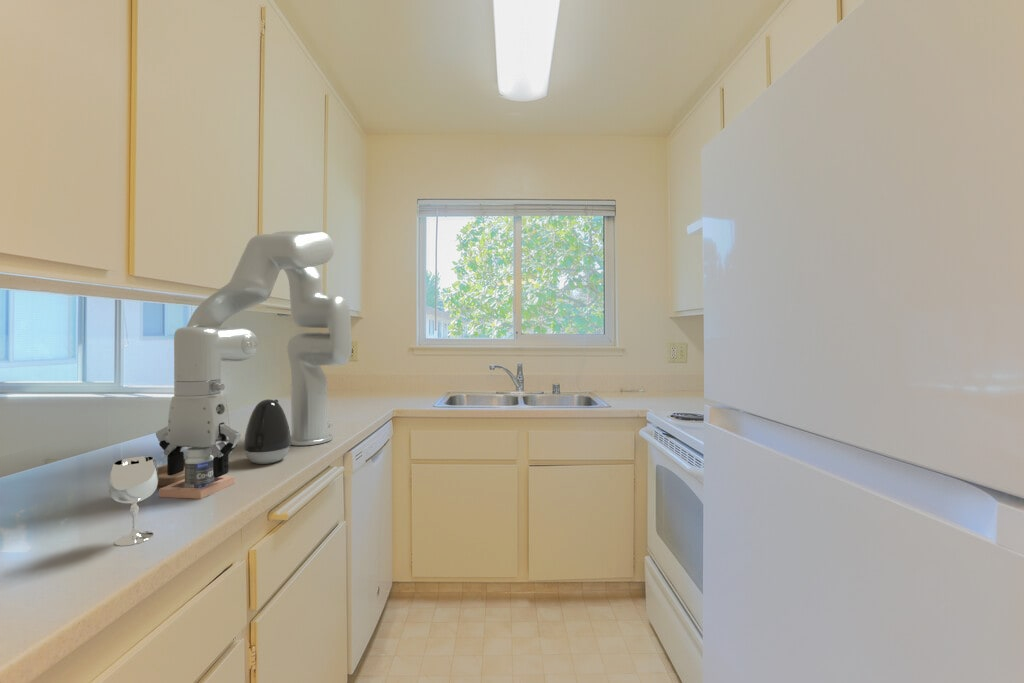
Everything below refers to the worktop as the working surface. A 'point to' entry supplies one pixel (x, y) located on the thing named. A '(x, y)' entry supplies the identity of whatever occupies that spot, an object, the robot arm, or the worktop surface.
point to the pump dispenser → (267, 433)
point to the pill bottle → (199, 467)
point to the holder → (196, 493)
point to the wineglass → (133, 490)
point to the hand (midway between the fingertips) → (198, 474)
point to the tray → (167, 479)
